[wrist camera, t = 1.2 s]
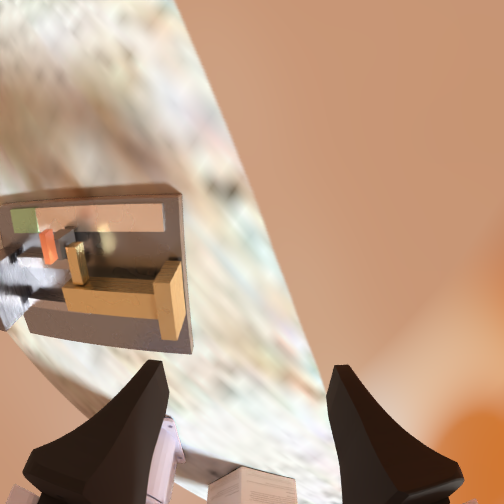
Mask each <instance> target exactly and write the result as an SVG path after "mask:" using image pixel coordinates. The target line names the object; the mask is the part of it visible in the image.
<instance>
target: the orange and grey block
mask: <svg viewBox="0 0 504 504" xmlns="http://www.w3.org/2000/svg"><path fill="white" fill-rule="evenodd" d="M39 237H40V242H41V247H42V252H43V256H44V261H45V264H49V265H51V264H52V263H54V262H55V261H56V260H64V259H65V258H66V257H67V253H66V248H65V247H67V246H68V245H69V244H71V243H72V242H76V240H75V234H74V229H60V230H58V231H57V232H55V233H54V234H53V229H46V230H44V231H43V232H41V233H40V234H39Z"/></svg>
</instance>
